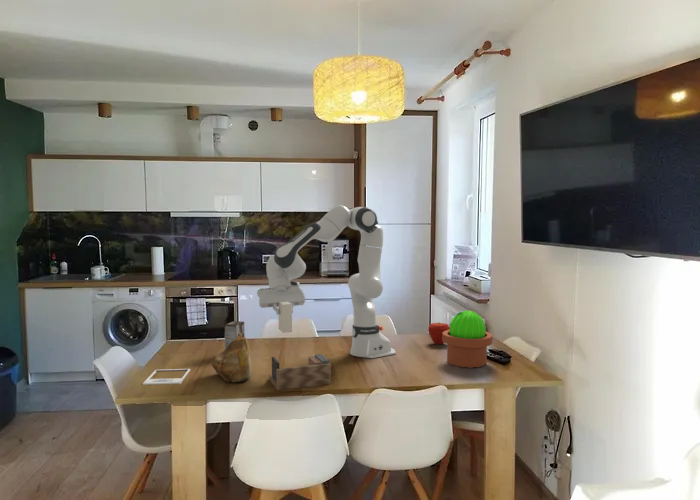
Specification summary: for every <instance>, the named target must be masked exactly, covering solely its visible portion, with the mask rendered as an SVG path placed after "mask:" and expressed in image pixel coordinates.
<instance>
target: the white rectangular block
mask: <svg viewBox="0 0 700 500" xmlns="http://www.w3.org/2000/svg"><path fill="white" fill-rule="evenodd" d="M277 308H278V309H280V311H281V313H280V314H278V330H280V331H281V333H283V334H285V333H286V334H287V333H293V313H292V304H291V303H289V302H279V303H278V307H277Z"/></svg>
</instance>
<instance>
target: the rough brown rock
mask: <svg viewBox="0 0 700 500" xmlns="http://www.w3.org/2000/svg"><path fill="white" fill-rule="evenodd" d="M251 362H252V361H251V349H250V344H249V340H248V339H247V338H246V337H245V336H244V337H242V338H241V337H240V336H238V337H236V338H235V340H233V341H232V342H231V343H230V345H228V347H227V348H226V349H225V348H224V350H223V351H220V352H219V353H217V354H216V355H214V356H213V357H212V358H211V361H210V365H211V367H212V368H213V369H214V371H215V372H216V374H218V375H219V376H220V377H221V378H222V379H223V380H224V381H225V382H226V383H230V382H231V383H240V382H245V381H246V380H248V379H250V378H251V375H252V363H251Z"/></svg>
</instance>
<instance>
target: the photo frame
mask: <svg viewBox="0 0 700 500" xmlns="http://www.w3.org/2000/svg"><path fill="white" fill-rule="evenodd" d="M160 371H162V372H163V371H164V372H165V371H167V372H168V371H186V372H185V373H184V375H183V376H182V377H180V378H177V377H176V378H175V377H173V378H153V376H154V375H155V374H156V373H157V372H160ZM189 372H191V368H176V369H175V368H174V369H170V368H169V369H167V368H166V369H155V370H154V371H153V372H152V373H151V374H150V375H149V376H148V377H147V378H146V380H144V381H143V382H142V385H143V386H145V385H146V386H147V385H148V386H149V385H176V384H177V385H180V384H182V382H183V381H184V380H185V378H186V376H187V375H188V374H189Z"/></svg>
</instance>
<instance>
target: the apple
mask: <svg viewBox="0 0 700 500" xmlns="http://www.w3.org/2000/svg"><path fill="white" fill-rule="evenodd" d="M427 329H428V334H429V336H430V338H431V342H433V343H434V344H435V345H437V344H442V345H443V344H445V343H444V342H443V341H442V333H443V332H444V331H446V330H450V326H449V324H448V323H443V322H440V321H439V322H432V323H430V324H429V326H428V328H427Z"/></svg>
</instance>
